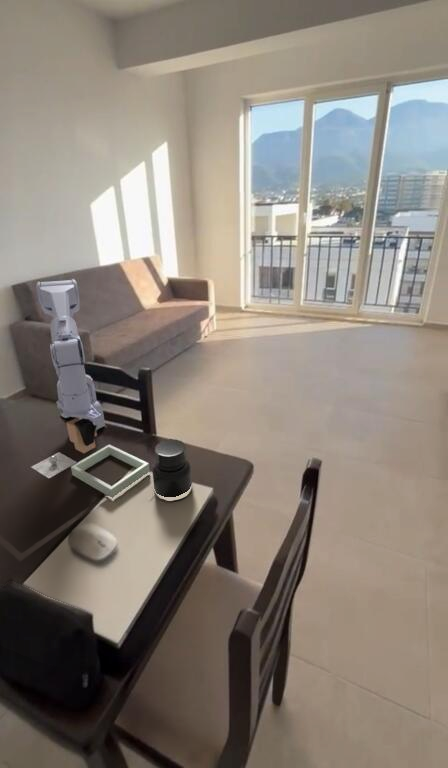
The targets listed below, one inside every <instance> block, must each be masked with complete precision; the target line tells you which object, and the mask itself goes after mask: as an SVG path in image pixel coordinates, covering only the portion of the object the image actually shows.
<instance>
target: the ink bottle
mask: <svg viewBox="0 0 448 768" xmlns="http://www.w3.org/2000/svg"><path fill="white" fill-rule="evenodd" d="M186 451H187V450H186V445H185V443H184V442H183V441H182V440H179V439H164V440H163V441H159V442H158V443H157V444H156V445H155V447H154V454H155V455H154V456H155V463H154V464H153V467H152V479H153V480H152V483H153V489H155V491H156V493H157V494H159V495H161V496H164V497H176V496H179V495H181V494H183V493H185V492H187V491H188V490H189V489H190V487H191V485H192V486H193V482H192V478H193V477H192V467H191V463H190V462H189V460H188V459H187V452H186ZM155 491H154V492H155Z"/></svg>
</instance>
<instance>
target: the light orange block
mask: <svg viewBox="0 0 448 768" xmlns="http://www.w3.org/2000/svg"><path fill="white" fill-rule="evenodd" d="M79 420H82V418H75V419H73V420H71V421H68V422H66V424H67V425H66V424H65V425H66V427H67V432H68V437H69V441H70V442H71V443H73V444H74V448H75V450H76V451H79V452H80V453H82V454H86V453H87V452H89V451H91V450H93V449H95V448H96V441H95V439H94V443H92V444H90V445H88V446H86V445H85V444H84V442H83V439H82V436H81V433H80V431H79V429H78V428H77V427H76V425H75V424H74V423H75V422H77V421H79ZM97 436H98V433H97V430H95V437H97Z"/></svg>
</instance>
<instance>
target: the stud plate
mask: <svg viewBox="0 0 448 768" xmlns="http://www.w3.org/2000/svg"><path fill="white" fill-rule="evenodd" d="M76 463H78V462H77V461H76V460H74V459H72V458H70V457H68V456H67V455H65V454H63V453H61V452H60V451H58V452H56V453H55V454H53V455H51V456H49V457H47V458H44V459H43V460H41V461H40V462H38V463H36V464H34V465H32V466H30V468H32V469H33V470H35V471H36V472H38V473H39V474H41V475H42V476H44V477H46V478H47V479H50V478H53V477H54V476H56V475H59V474H60V473H61V472H63V471H64V470H67V469H68V468H71V466H73V465H75V464H76Z"/></svg>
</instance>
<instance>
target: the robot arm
mask: <svg viewBox="0 0 448 768" xmlns="http://www.w3.org/2000/svg"><path fill="white" fill-rule="evenodd" d="M35 284H36V285H35V287H36V295H37V299H38V302H39V305H40V308H41V310H42V311H43V313H44V314H45V315H49V316H51V317H52V320H51V321H50V324H49V328H50V335H51V342H52V343H50V345H49V349H50V354H51V355H50V357H51V360H52V364H53V366H54V369H55V372H56V376H57V377H58V381H57V384H56V388H57V391H56V392H57V397H58V400H56V406H57V409H59V410H62V411H63V412H61V413H60V416H59V417H60V419H61V421H63V423H65V426H67V424H66V422H68V421H71V420H73V419H75V418H82V420H79V421H77V422H75V423H74V424H75V425H76V427H77V428H78V429H79V431H80V433H81V436H82V439H83V442H84V444H85V445H86V446H88V445H90V444H92V443H94V440H95V437H96V436H95V430H96V431H98V430H99V429H101V428H103V427H106V428H107V426H106V422H105V416H104V411H103V406H102V405H101V403H100V402H99V401H98V400H97V393H96V388H95V384H94V381H93V378H92V377H91V375H89V374H86V369H85V362H86V357H85V351H84V346H83V342H82V340H81V337H80V335H79V331H78V326H77V323H76V320H75V319H74V318H73V317H74V314H75V313H77V312H79V311H80V307H81V305H80V304H81V299H80V293H79V287H78V282H77V281H76V280H75V278H72V279H70V280H69V279H67V280H55V281H51V280H50V281H37V283H35ZM81 359H82V360H83V361H82V360H81Z"/></svg>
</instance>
